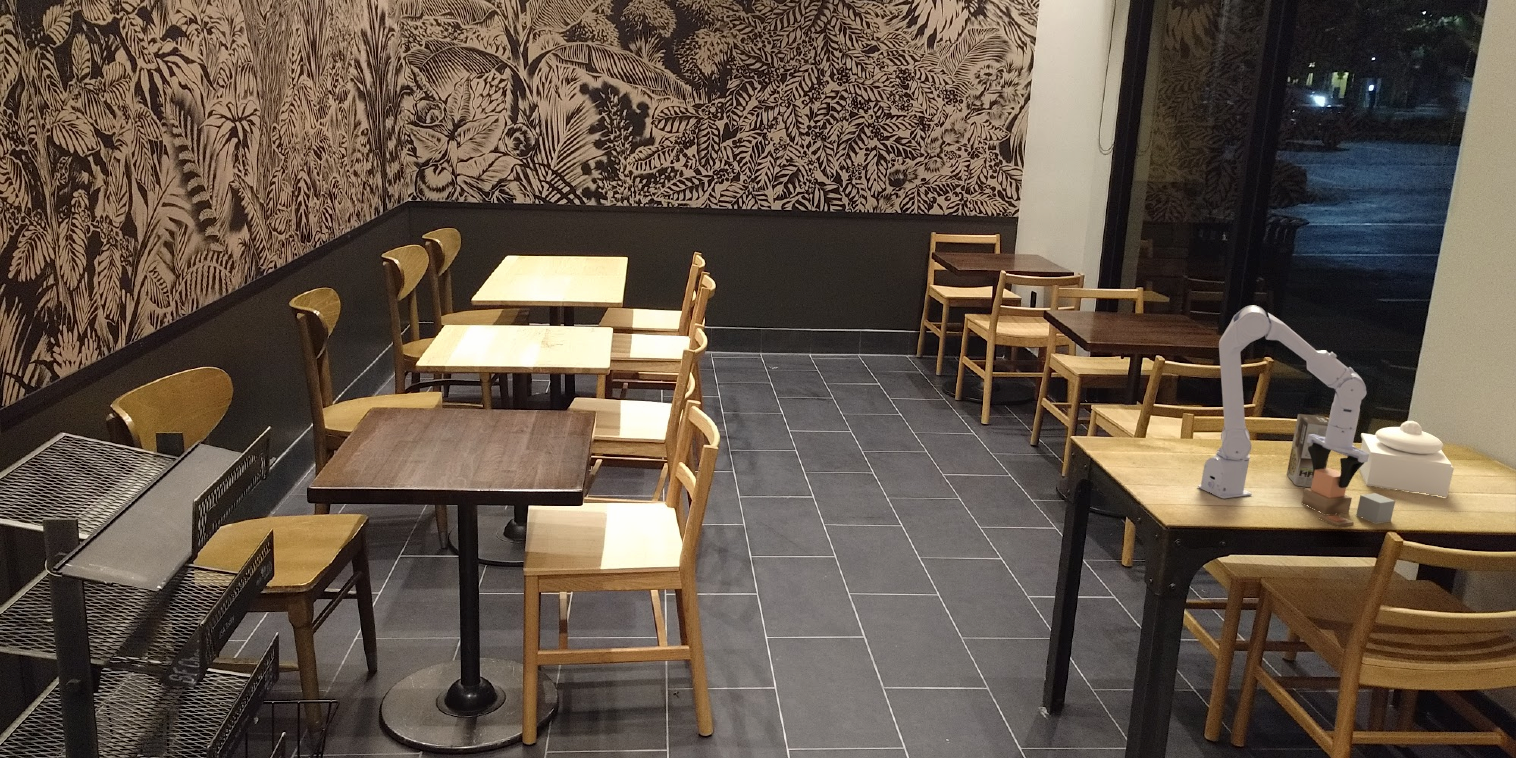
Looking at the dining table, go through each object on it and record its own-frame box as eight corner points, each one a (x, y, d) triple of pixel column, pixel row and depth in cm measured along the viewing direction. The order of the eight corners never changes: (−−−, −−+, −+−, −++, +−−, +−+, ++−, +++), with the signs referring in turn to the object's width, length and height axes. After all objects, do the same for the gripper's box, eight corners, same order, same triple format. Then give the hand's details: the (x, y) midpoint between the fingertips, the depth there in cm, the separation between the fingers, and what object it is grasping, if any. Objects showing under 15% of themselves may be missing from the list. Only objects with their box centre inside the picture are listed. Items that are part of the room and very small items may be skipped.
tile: (1337, 527, 247) (1338, 523, 247) (1318, 518, 251) (1319, 515, 251) (1353, 524, 249) (1354, 521, 249) (1334, 516, 253) (1334, 512, 253)
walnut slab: (1324, 515, 254) (1327, 499, 253) (1301, 504, 260) (1304, 488, 259) (1348, 514, 256) (1351, 497, 255) (1324, 502, 262) (1328, 486, 261)
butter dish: (1446, 499, 270) (1461, 437, 266) (1363, 486, 276) (1377, 424, 272) (1432, 477, 286) (1446, 418, 282) (1354, 465, 292) (1366, 407, 288)
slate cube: (1375, 523, 250) (1380, 503, 249) (1356, 515, 255) (1360, 495, 253) (1390, 521, 252) (1395, 500, 251) (1370, 513, 257) (1375, 493, 256)
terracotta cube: (1329, 497, 254) (1333, 477, 252) (1310, 490, 258) (1314, 469, 257) (1344, 495, 256) (1348, 475, 255) (1325, 488, 260) (1330, 467, 259)
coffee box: (1323, 489, 271) (1336, 426, 267) (1294, 485, 272) (1307, 422, 268) (1312, 477, 280) (1325, 415, 275) (1285, 473, 281) (1297, 412, 276)
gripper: (1382, 433, 248) (1370, 491, 252) (1326, 415, 261) (1315, 469, 264) (1361, 436, 245) (1348, 494, 249) (1305, 417, 258) (1294, 472, 261)
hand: (1330, 481), depth 256 cm, fingers open, 6 cm apart
